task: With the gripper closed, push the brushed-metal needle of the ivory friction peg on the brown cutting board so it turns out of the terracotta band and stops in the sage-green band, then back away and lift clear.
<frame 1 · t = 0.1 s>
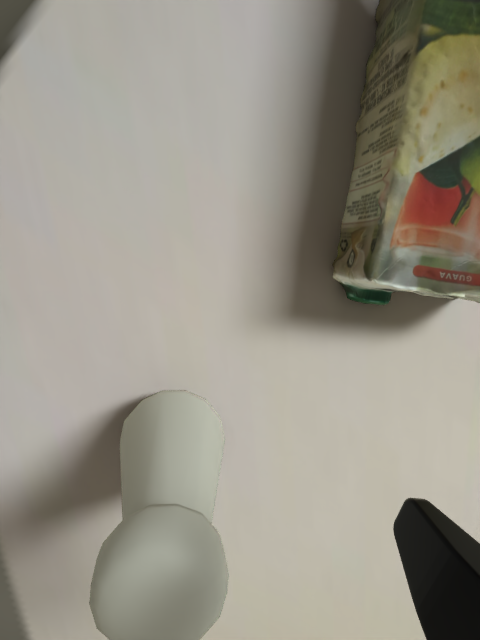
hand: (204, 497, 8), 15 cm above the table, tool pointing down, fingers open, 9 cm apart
salt shaker: (175, 420, 24), on the table
juice carton: (422, 139, 23), on the table
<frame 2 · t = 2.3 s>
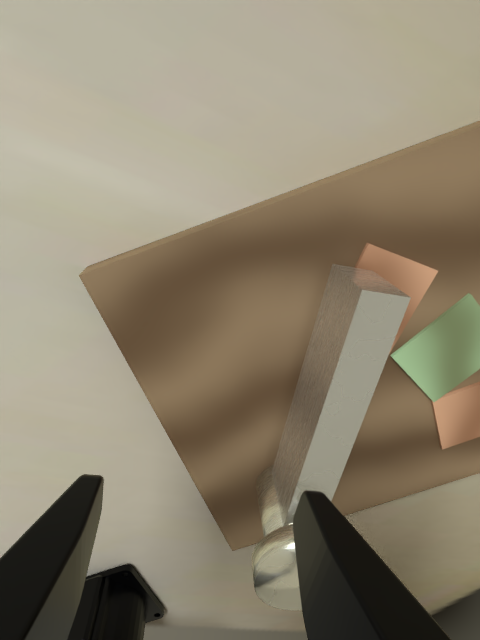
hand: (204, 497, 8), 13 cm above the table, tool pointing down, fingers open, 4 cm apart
brown cutting board: (337, 367, 22), on the table
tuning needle: (320, 442, 18), point 5 cm above the table, hinge at -30.0°
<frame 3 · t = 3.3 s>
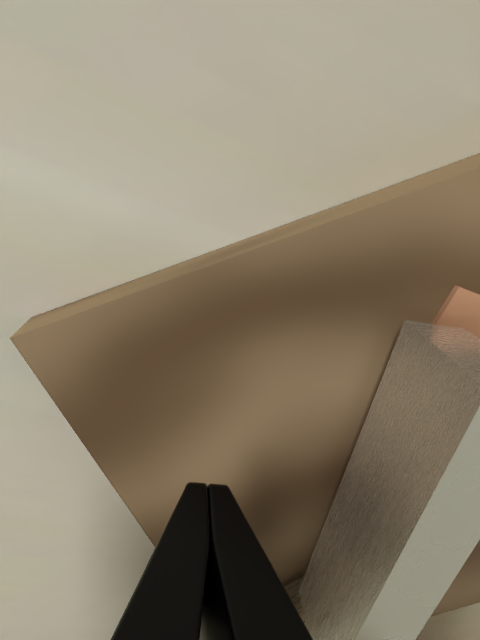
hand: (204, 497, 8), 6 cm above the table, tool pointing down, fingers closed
brown cutting board: (390, 445, 16), on the table
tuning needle: (379, 584, 12), point 5 cm above the table, hinge at -30.0°
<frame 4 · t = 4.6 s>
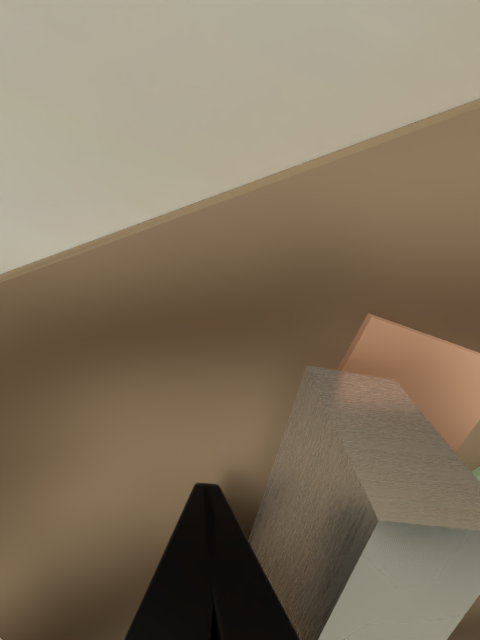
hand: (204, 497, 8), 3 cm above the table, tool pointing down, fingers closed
brown cutting board: (315, 509, 13), on the table
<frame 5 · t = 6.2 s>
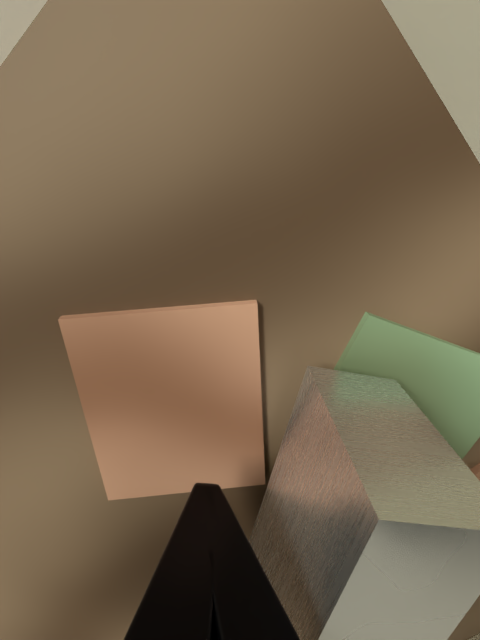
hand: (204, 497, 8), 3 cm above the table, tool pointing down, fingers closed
brown cutting board: (219, 498, 12), on the table
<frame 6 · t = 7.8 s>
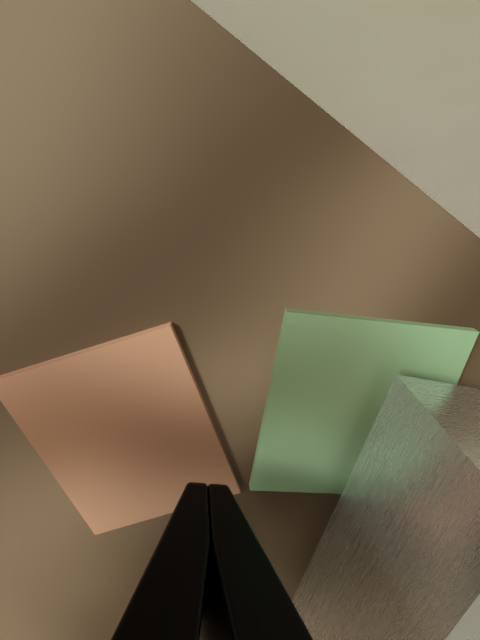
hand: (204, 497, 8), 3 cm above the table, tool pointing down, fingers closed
brown cutting board: (217, 508, 12), on the table
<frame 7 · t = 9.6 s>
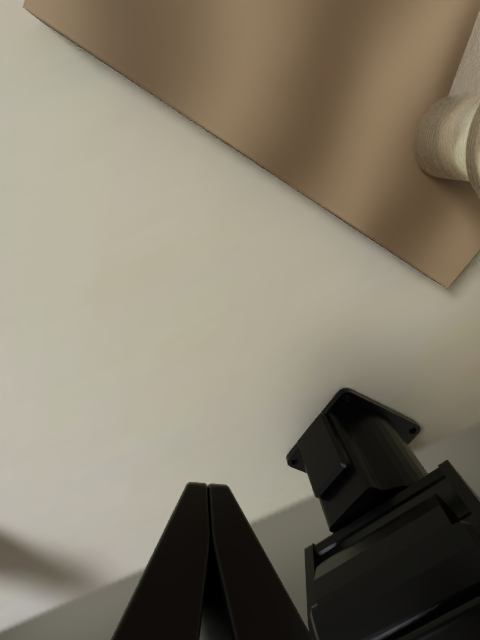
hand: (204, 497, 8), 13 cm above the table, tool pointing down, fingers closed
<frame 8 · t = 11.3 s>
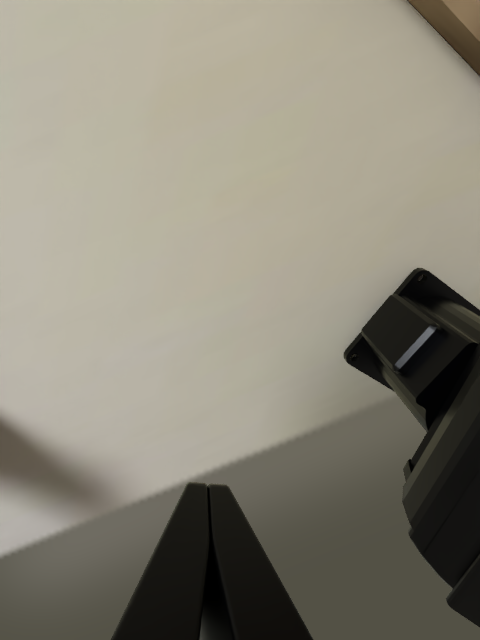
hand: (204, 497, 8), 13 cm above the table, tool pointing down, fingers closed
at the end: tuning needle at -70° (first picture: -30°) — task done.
